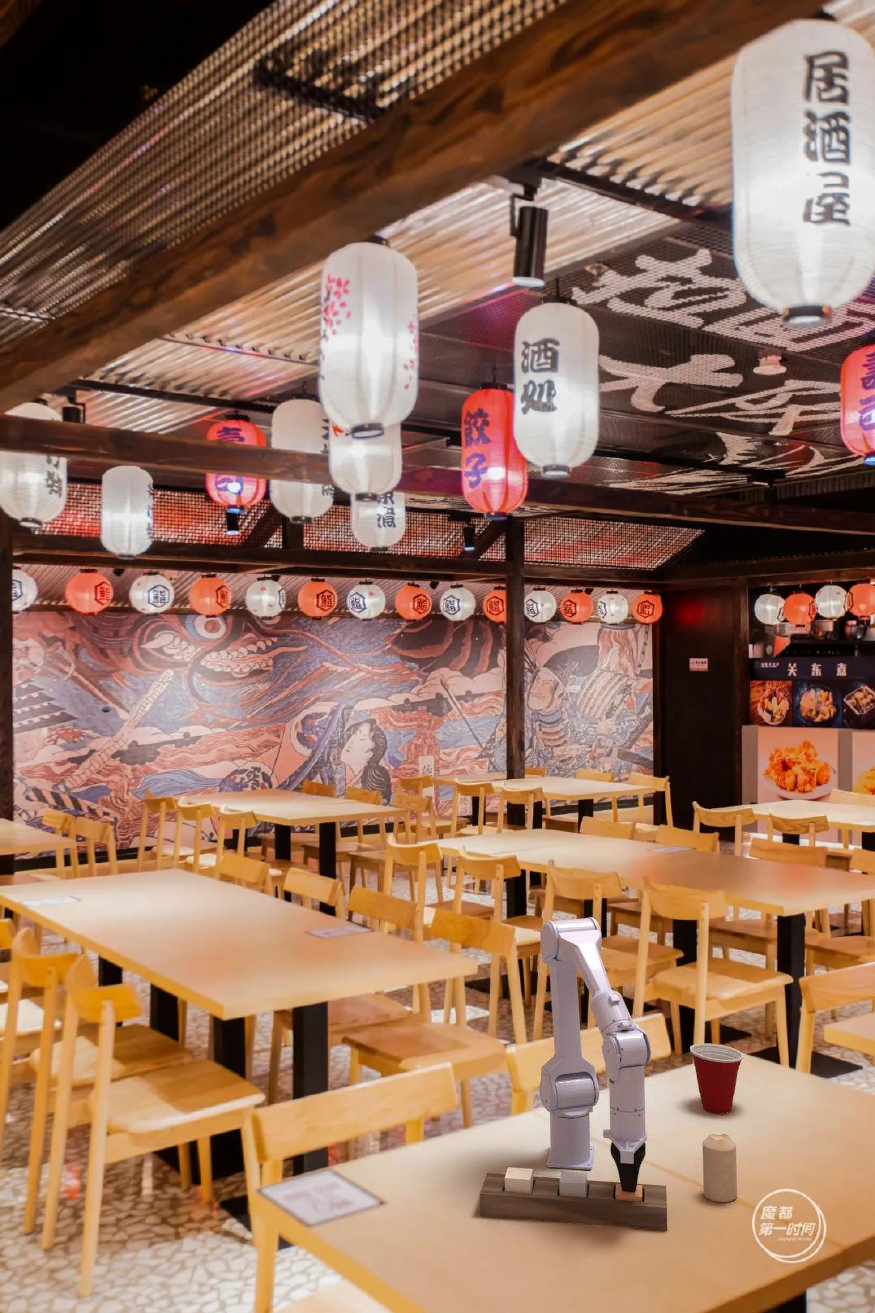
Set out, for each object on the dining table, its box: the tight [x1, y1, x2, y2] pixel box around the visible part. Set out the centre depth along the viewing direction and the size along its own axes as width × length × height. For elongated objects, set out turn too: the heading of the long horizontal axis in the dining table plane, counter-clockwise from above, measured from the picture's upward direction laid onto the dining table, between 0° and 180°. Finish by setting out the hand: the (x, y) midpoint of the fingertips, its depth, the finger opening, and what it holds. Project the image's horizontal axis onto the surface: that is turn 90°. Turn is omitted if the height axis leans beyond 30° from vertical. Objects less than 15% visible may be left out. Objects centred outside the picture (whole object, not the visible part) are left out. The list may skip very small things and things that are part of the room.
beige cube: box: [505, 1166, 534, 1193], centre depth 180 cm, size 4×4×4 cm
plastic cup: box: [689, 1042, 745, 1115], centre depth 223 cm, size 11×11×12 cm
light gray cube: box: [559, 1170, 588, 1198], centre depth 179 cm, size 4×4×4 cm
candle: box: [702, 1133, 738, 1203], centre depth 184 cm, size 6×6×10 cm
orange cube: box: [615, 1184, 642, 1202], centre depth 177 cm, size 4×4×4 cm
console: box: [479, 1172, 668, 1231], centre depth 179 cm, size 8×30×4 cm, turn 79°
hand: (628, 1190), depth 177 cm, fingers closed, pressing on orange cube
